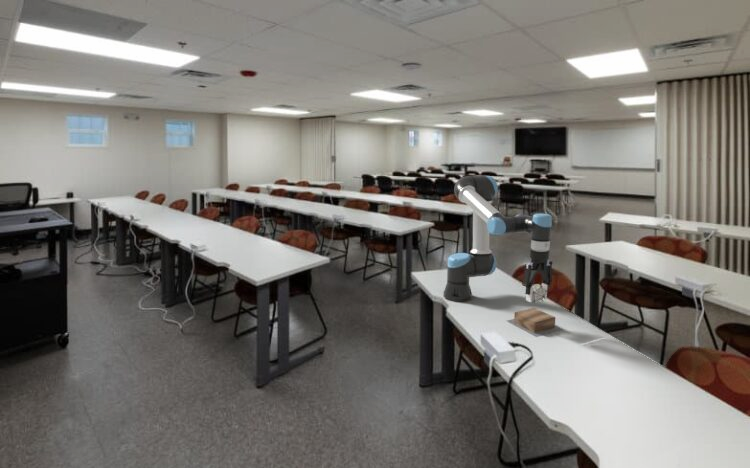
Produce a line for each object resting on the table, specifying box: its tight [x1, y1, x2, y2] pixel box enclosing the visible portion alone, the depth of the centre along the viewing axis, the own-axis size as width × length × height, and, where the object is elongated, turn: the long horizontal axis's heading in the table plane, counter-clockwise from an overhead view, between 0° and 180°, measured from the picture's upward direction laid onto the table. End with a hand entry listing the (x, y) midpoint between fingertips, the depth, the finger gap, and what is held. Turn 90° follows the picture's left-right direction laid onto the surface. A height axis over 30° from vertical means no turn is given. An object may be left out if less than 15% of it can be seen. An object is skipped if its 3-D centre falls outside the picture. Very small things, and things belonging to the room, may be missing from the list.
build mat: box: [506, 318, 564, 338], centre depth 176 cm, size 18×16×1 cm
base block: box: [513, 307, 557, 333], centre depth 176 cm, size 12×12×5 cm
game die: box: [524, 282, 549, 303], centre depth 173 cm, size 9×8×10 cm
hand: (536, 299), depth 174 cm, fingers closed on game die, 8 cm apart
